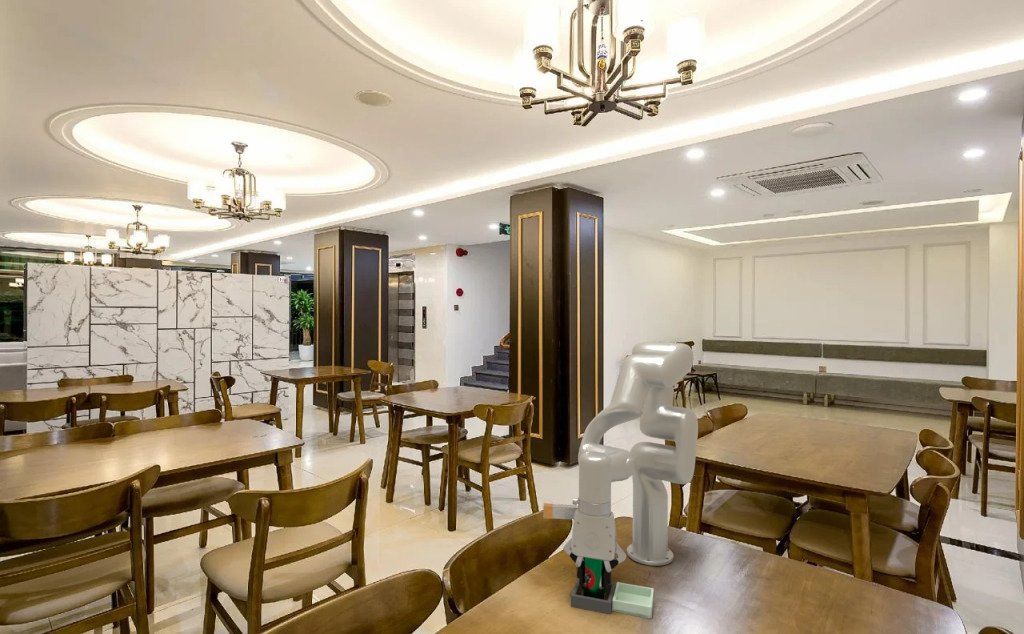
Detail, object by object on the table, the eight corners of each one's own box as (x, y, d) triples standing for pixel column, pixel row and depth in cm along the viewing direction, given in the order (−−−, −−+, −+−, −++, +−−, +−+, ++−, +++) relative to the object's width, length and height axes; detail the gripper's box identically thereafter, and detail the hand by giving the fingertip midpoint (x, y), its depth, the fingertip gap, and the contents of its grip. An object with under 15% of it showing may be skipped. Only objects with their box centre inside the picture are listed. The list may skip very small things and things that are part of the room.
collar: (578, 586, 124) (578, 576, 124) (615, 593, 121) (616, 583, 121) (570, 606, 115) (570, 595, 115) (610, 614, 112) (610, 603, 112)
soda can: (604, 607, 115) (605, 554, 115) (582, 604, 116) (582, 552, 116) (604, 595, 120) (605, 545, 120) (583, 593, 121) (584, 543, 121)
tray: (617, 592, 121) (617, 582, 121) (653, 599, 118) (653, 588, 118) (612, 611, 113) (612, 600, 113) (651, 618, 110) (651, 607, 110)
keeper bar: (607, 517, 131) (608, 505, 131) (609, 522, 128) (609, 509, 128) (543, 514, 132) (543, 501, 133) (543, 518, 129) (543, 506, 129)
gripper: (555, 507, 117) (554, 585, 117) (629, 517, 112) (629, 599, 111) (562, 496, 124) (562, 570, 124) (633, 505, 119) (632, 582, 119)
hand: (593, 583), depth 118 cm, fingers closed on soda can, 5 cm apart
